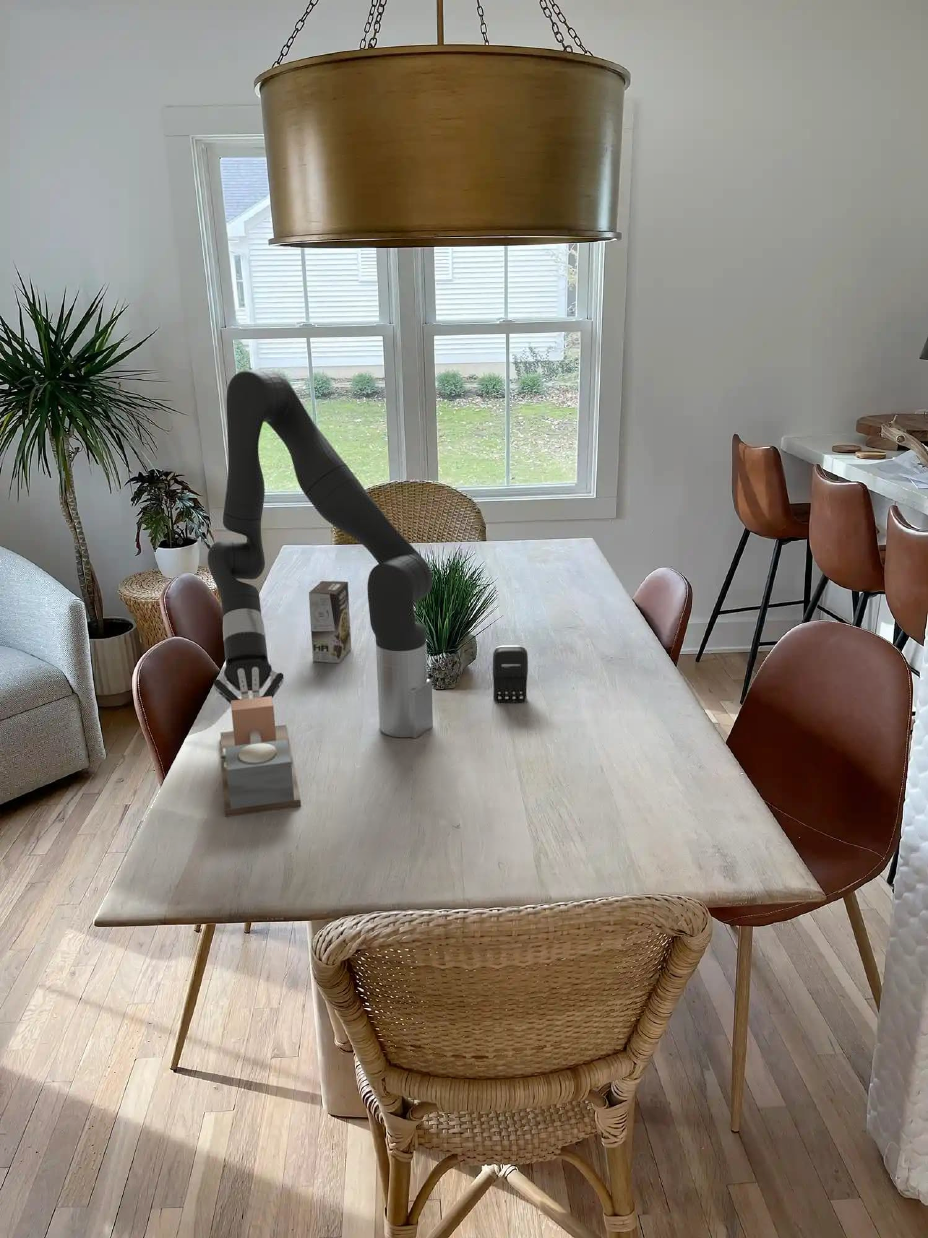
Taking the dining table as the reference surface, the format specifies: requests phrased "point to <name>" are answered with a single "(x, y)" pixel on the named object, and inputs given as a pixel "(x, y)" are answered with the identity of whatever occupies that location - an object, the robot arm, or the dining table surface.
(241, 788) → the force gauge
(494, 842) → the dining table surface
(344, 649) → the coffee box
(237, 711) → the block on disc stand
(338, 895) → the dining table surface
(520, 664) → the black battery charger
